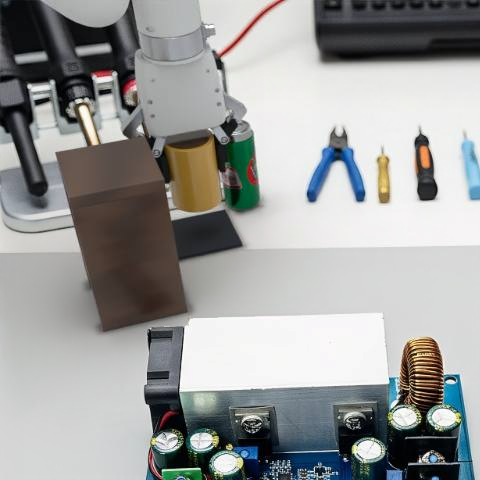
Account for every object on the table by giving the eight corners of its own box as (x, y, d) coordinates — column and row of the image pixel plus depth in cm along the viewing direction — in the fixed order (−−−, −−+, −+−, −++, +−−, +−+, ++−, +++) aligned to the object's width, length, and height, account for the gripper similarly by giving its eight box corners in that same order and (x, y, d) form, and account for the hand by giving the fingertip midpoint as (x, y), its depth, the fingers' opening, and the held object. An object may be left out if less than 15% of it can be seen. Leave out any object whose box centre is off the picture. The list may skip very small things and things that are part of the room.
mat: (177, 260, 132) (176, 257, 132) (162, 225, 138) (161, 222, 138) (242, 246, 135) (242, 243, 134) (225, 212, 141) (225, 209, 140)
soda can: (218, 202, 143) (207, 125, 134) (246, 189, 145) (238, 113, 137) (239, 216, 140) (229, 139, 132) (267, 203, 142) (260, 127, 134)
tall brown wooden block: (103, 331, 121) (68, 197, 108) (88, 283, 128) (54, 152, 115) (187, 311, 124) (164, 179, 111) (169, 265, 131) (144, 135, 118)
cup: (179, 217, 129) (168, 155, 123) (167, 192, 134) (155, 131, 127) (228, 206, 131) (220, 144, 125) (214, 181, 136) (205, 121, 129)
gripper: (234, 17, 122) (249, 147, 135) (92, 39, 117) (121, 172, 130) (251, 41, 117) (265, 174, 130) (103, 65, 112) (132, 201, 125)
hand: (193, 172), depth 130 cm, fingers closed on cup, 6 cm apart
